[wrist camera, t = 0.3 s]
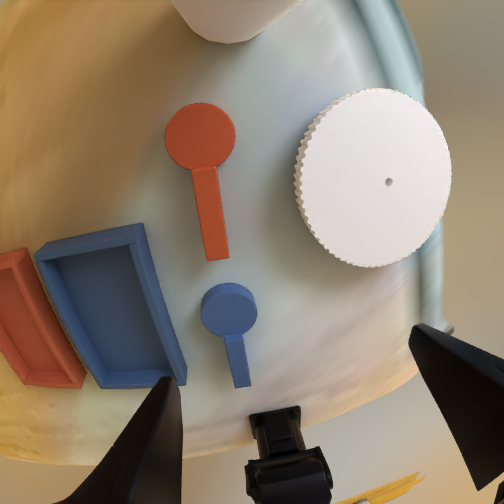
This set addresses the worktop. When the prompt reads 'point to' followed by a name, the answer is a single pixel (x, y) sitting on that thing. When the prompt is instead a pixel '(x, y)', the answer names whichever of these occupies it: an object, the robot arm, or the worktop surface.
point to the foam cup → (232, 17)
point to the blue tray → (113, 306)
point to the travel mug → (362, 502)
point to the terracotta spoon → (204, 165)
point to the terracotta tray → (33, 328)
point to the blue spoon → (231, 324)
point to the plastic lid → (372, 176)
